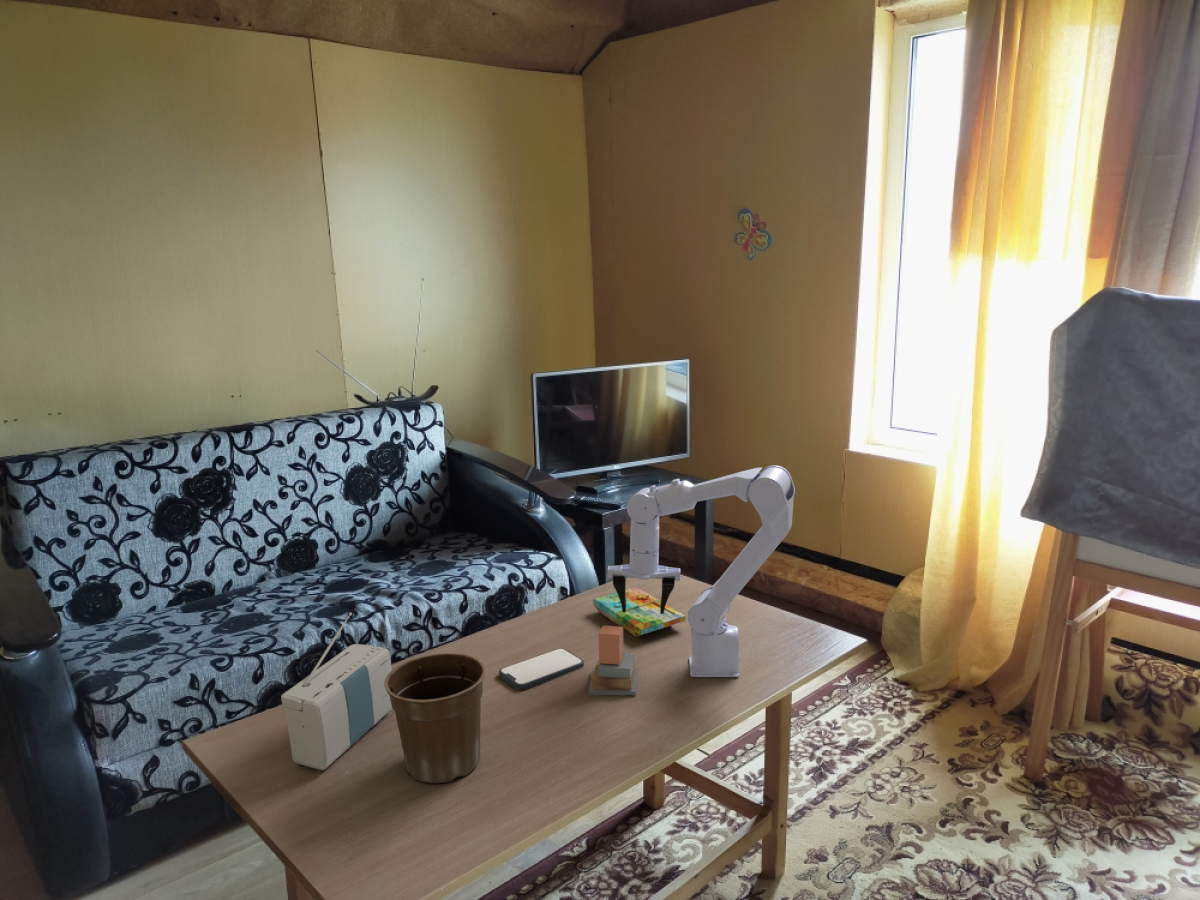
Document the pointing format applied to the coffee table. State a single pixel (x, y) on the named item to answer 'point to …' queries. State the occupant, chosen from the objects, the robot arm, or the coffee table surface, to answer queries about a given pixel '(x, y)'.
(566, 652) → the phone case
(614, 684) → the tower middle slab
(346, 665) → the stereo radio cassette player
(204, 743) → the coffee table surface
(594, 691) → the tower base slab
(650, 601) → the puzzle game
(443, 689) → the plant pot
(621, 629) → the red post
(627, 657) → the tower top slab
